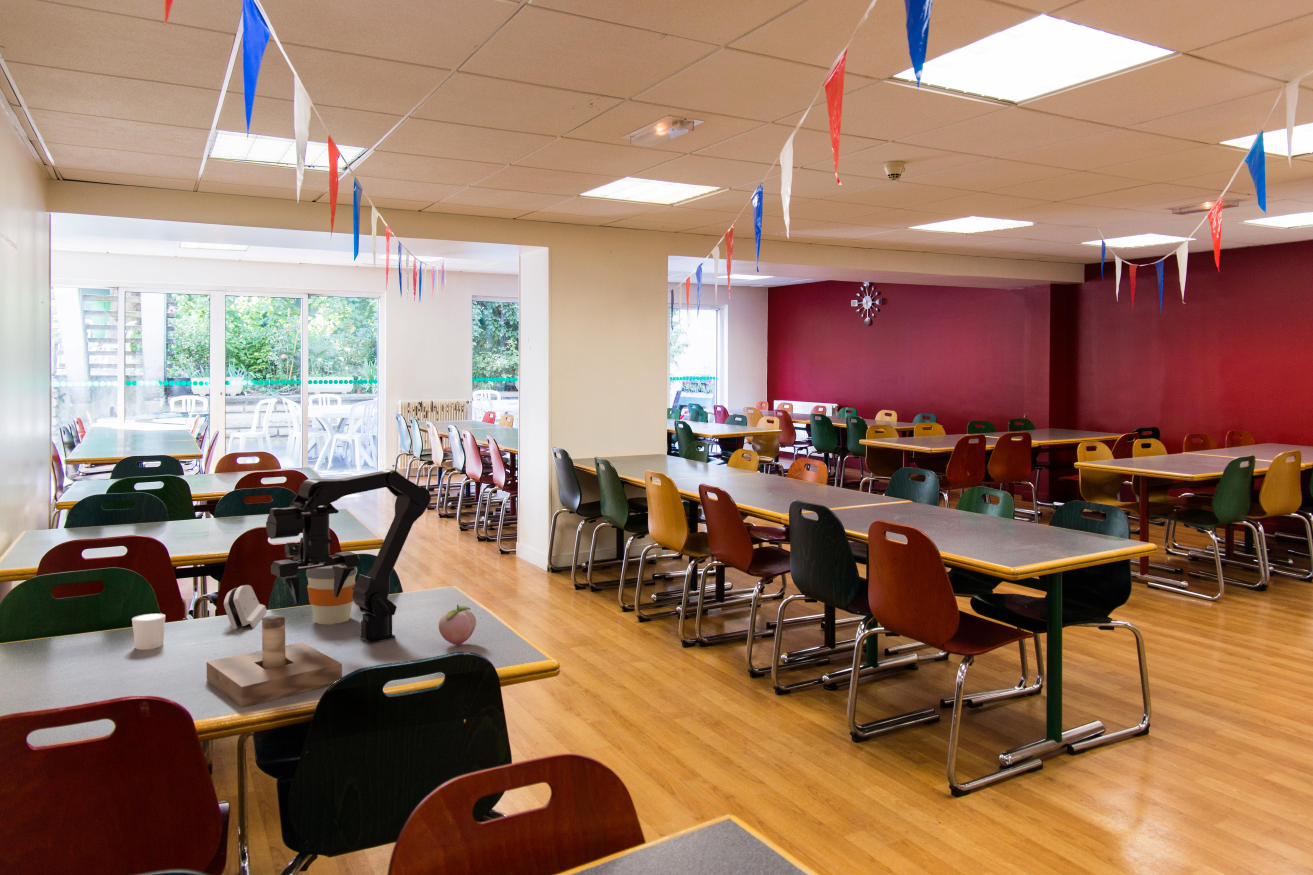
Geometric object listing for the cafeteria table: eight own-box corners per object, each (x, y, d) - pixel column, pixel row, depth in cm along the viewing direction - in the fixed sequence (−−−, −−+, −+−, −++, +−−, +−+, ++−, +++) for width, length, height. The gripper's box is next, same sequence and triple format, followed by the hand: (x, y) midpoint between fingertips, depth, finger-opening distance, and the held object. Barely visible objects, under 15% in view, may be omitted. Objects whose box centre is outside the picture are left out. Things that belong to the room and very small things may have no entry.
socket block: (302, 659, 193) (302, 642, 193) (342, 682, 179) (341, 663, 179) (206, 680, 179) (206, 661, 179) (242, 706, 165) (241, 686, 165)
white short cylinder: (170, 645, 201) (169, 616, 201) (137, 652, 196) (136, 622, 196) (160, 639, 206) (160, 611, 205) (128, 645, 201) (127, 616, 200)
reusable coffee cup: (322, 611, 232) (321, 557, 231) (365, 614, 231) (365, 559, 230) (296, 624, 220) (296, 567, 219) (342, 627, 218) (342, 569, 217)
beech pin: (269, 675, 181) (268, 614, 180) (289, 675, 181) (288, 615, 180) (258, 682, 177) (257, 620, 176) (279, 683, 177) (278, 621, 176)
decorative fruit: (449, 638, 210) (449, 598, 210) (480, 641, 209) (480, 600, 208) (431, 650, 201) (431, 608, 200) (464, 652, 199) (464, 610, 199)
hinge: (254, 628, 216) (238, 592, 215) (234, 635, 215) (219, 599, 214) (267, 610, 232) (253, 577, 231) (250, 617, 231) (235, 583, 230)
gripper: (339, 525, 210) (339, 587, 211) (261, 533, 196) (261, 600, 197) (360, 531, 202) (361, 596, 203) (280, 540, 189) (281, 610, 190)
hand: (316, 600), depth 198 cm, fingers open, 9 cm apart
